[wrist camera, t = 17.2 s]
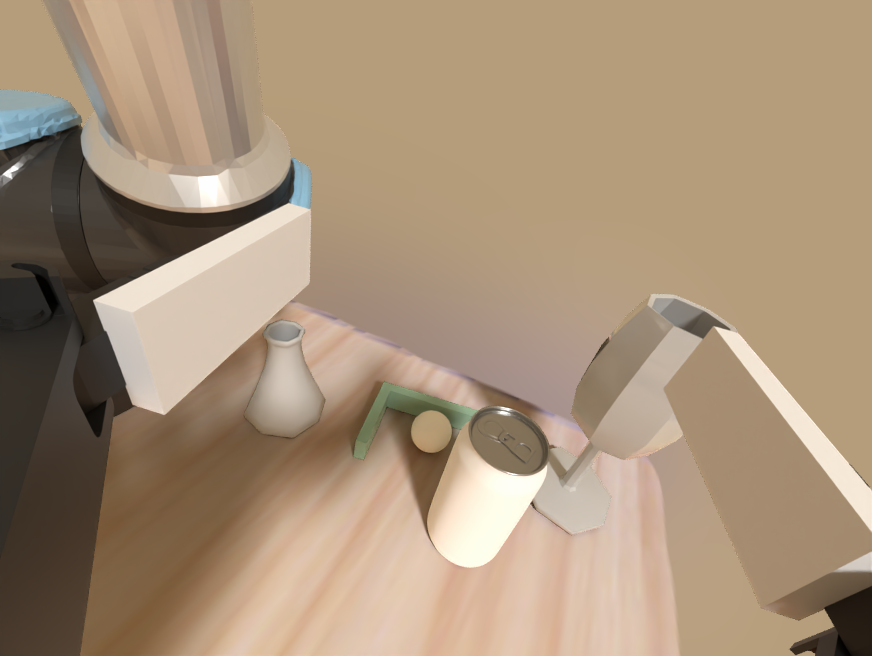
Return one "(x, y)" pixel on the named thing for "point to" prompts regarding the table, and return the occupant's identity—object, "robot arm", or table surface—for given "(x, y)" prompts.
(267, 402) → the flask
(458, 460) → the can
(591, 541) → the table surface
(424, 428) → the ball
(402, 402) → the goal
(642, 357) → the wineglass
